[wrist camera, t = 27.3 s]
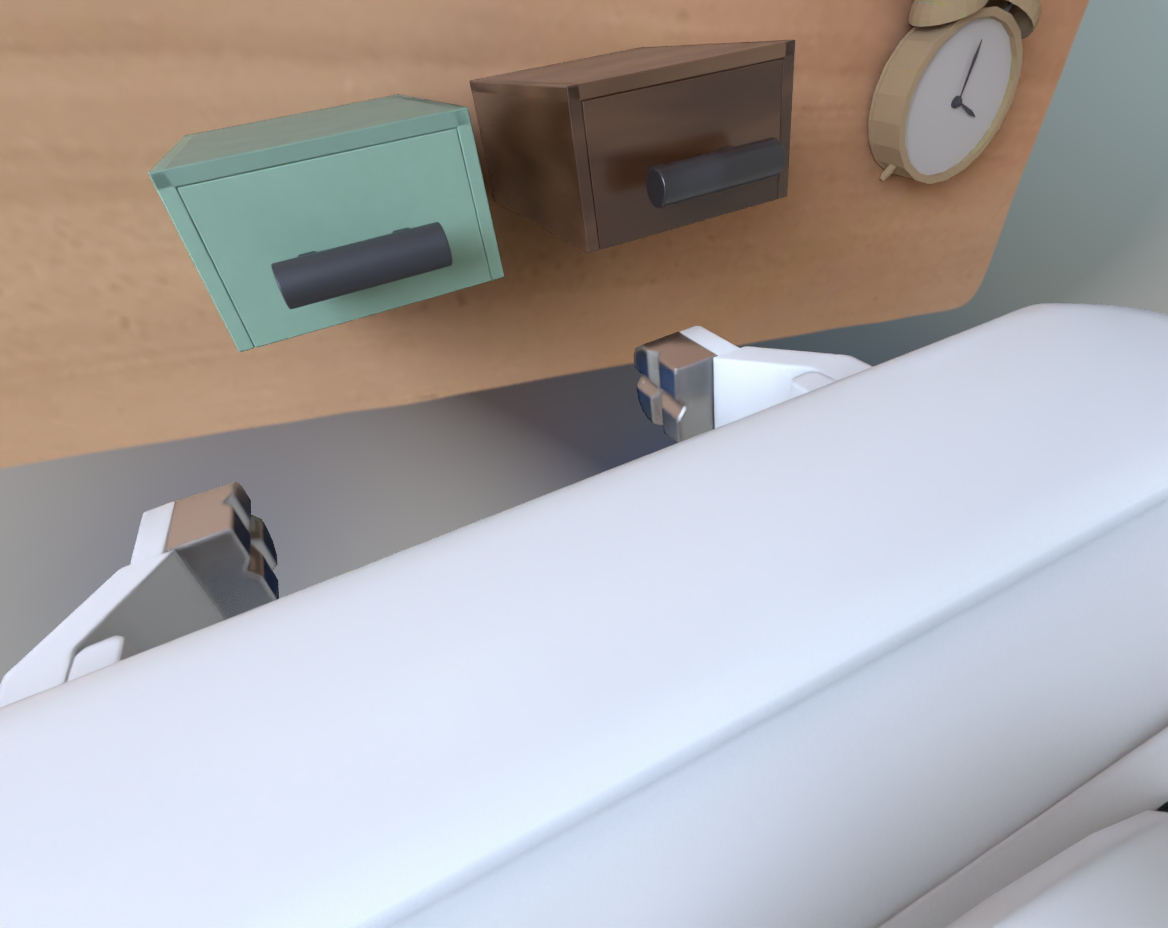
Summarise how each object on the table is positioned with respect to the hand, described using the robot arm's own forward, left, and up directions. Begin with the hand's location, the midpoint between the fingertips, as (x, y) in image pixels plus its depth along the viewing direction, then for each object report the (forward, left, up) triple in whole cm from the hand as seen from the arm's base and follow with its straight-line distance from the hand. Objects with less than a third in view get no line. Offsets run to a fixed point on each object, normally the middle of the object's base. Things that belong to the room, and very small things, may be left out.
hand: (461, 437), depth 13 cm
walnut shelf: (-4, +15, -21) cm, 26 cm away
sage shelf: (-4, 0, -21) cm, 21 cm away
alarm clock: (+1, +45, -29) cm, 54 cm away
